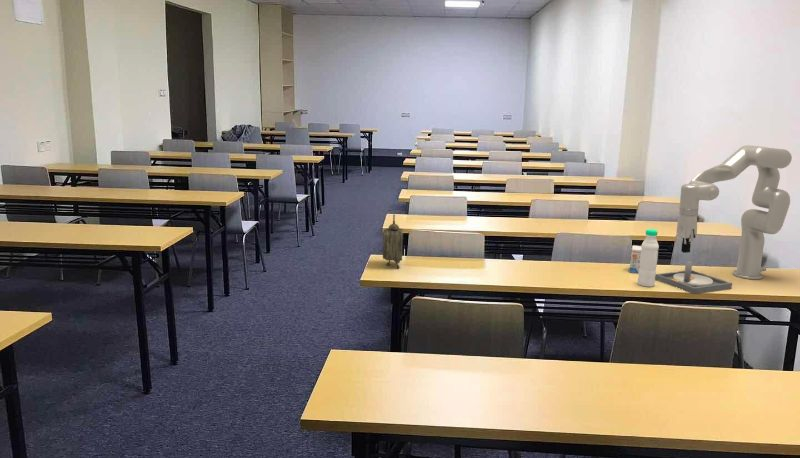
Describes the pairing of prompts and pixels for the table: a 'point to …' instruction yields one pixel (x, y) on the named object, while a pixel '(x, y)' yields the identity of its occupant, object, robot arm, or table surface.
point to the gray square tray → (716, 286)
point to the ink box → (635, 259)
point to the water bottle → (648, 259)
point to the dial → (692, 277)
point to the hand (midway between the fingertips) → (685, 251)
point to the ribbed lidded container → (393, 243)
